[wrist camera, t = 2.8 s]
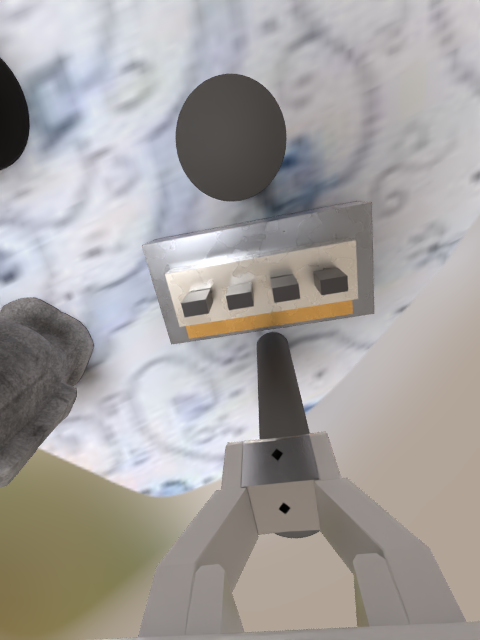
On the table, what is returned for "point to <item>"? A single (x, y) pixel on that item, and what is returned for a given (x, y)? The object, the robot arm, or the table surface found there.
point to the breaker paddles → (281, 291)
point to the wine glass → (11, 118)
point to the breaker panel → (260, 242)
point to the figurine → (36, 377)
